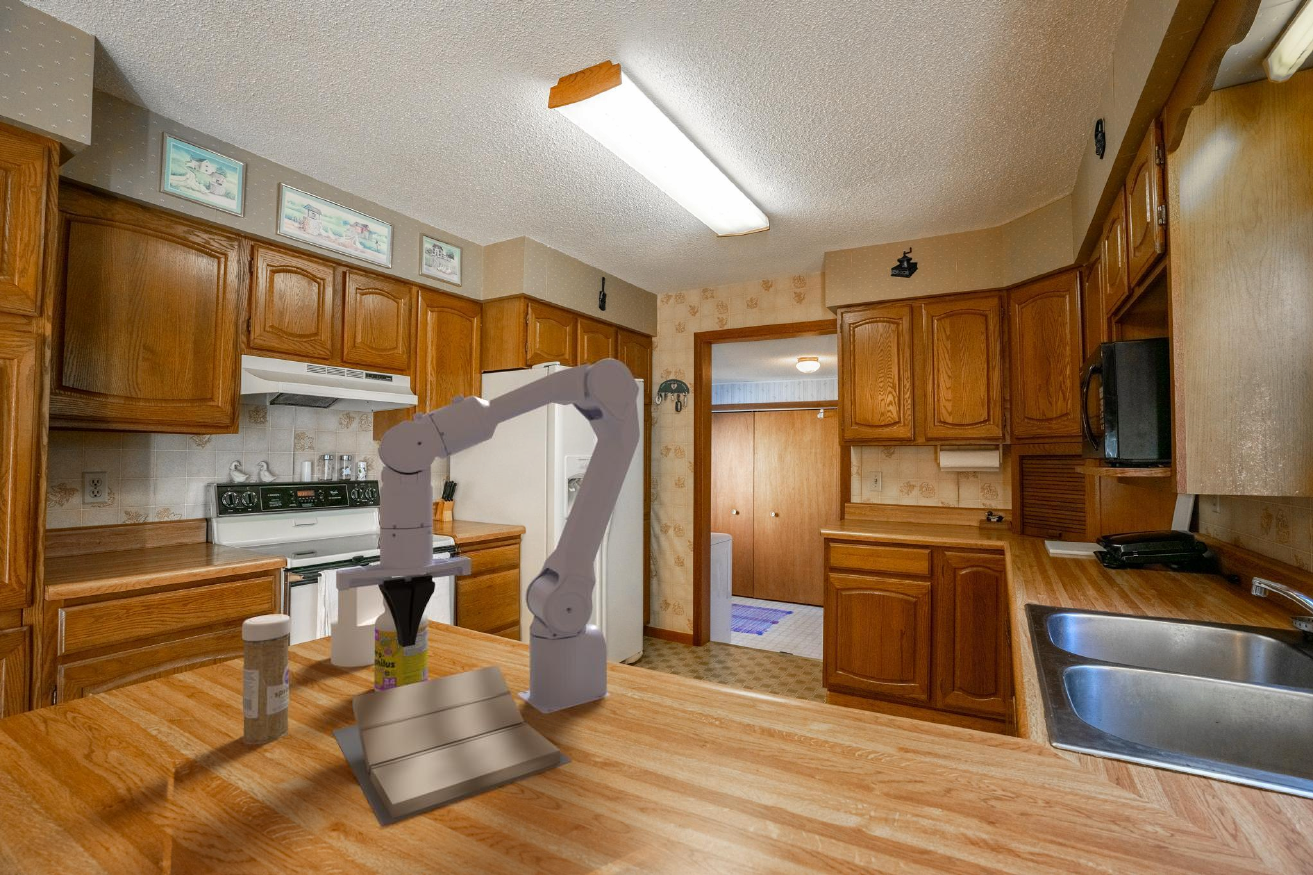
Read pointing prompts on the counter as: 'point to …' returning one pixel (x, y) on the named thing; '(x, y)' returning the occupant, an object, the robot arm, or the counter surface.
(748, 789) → the counter surface
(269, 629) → the sprinkles bottle
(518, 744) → the plank
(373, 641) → the base with upright slab
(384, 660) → the supplement bottle
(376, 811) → the plate
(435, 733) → the loose plank
